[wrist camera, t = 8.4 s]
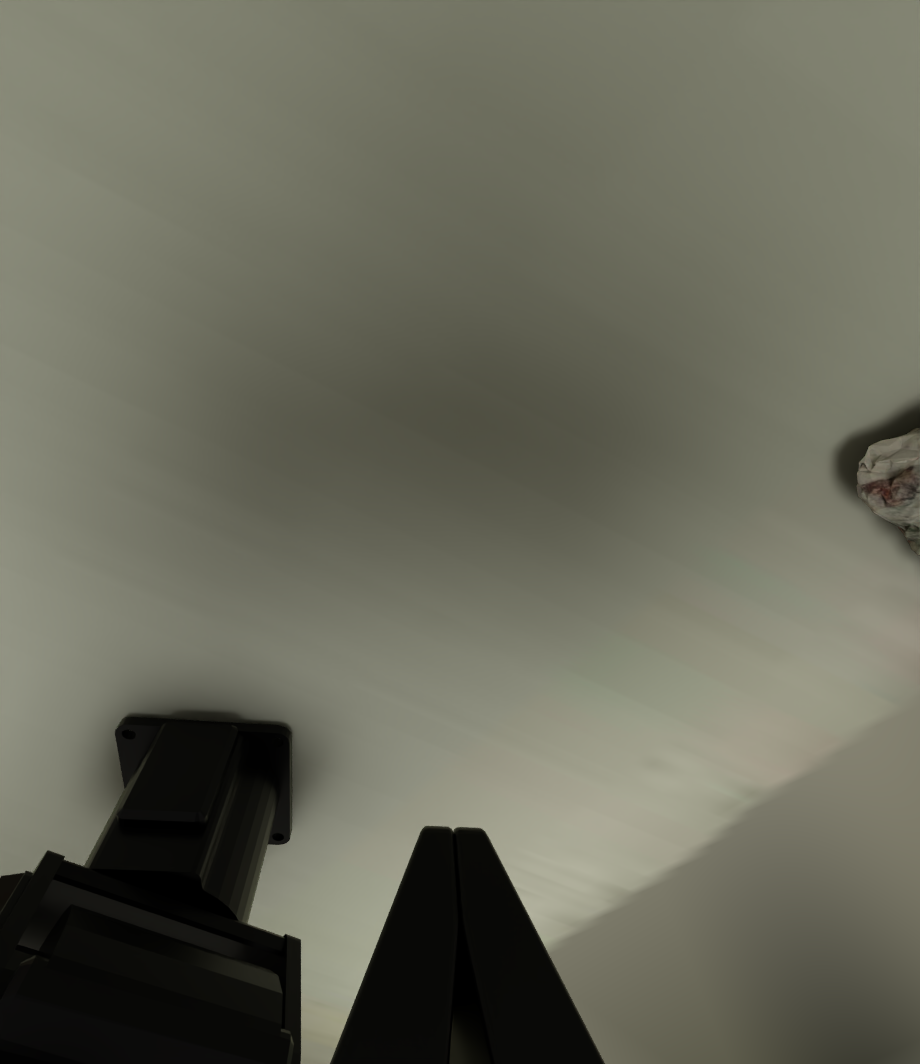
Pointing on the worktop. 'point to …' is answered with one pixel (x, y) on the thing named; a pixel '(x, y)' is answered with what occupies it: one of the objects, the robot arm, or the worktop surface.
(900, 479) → the mineral rock
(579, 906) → the worktop surface
